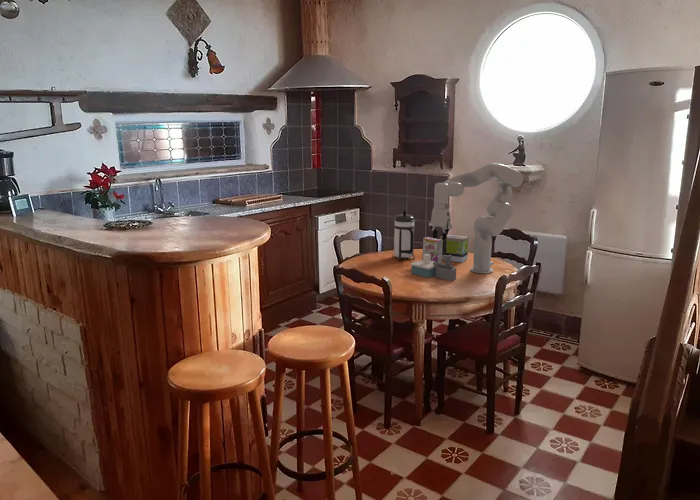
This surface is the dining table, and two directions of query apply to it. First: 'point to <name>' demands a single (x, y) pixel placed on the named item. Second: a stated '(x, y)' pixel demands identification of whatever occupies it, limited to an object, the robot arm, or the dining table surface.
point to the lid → (425, 262)
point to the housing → (435, 272)
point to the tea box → (455, 248)
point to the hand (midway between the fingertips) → (439, 238)
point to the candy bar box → (433, 248)
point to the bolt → (447, 262)
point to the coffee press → (404, 236)
